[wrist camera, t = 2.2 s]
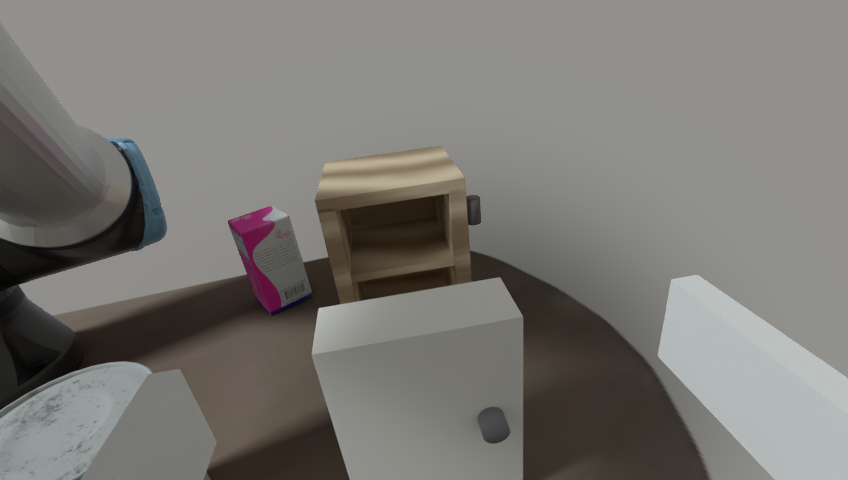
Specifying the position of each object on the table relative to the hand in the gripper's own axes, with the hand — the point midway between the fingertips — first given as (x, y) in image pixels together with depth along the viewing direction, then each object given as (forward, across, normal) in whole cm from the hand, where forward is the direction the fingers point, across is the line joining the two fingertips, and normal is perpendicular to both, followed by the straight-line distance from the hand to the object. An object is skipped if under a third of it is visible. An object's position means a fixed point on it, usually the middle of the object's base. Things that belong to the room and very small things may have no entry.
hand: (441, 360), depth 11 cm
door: (+10, 0, -21) cm, 23 cm away
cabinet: (+27, 0, -20) cm, 34 cm away
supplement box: (+38, -16, -20) cm, 46 cm away
